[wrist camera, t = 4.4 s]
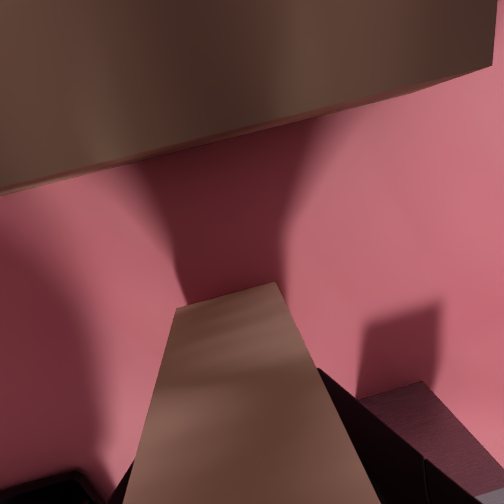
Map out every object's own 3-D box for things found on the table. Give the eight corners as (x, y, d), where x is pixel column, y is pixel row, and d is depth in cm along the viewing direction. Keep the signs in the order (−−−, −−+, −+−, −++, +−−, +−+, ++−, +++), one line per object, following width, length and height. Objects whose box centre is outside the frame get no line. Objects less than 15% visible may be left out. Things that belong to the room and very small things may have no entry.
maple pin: (206, 383, 12) (176, 979, 3) (176, 308, 10) (-19, 1018, 2) (293, 358, 12) (484, 865, 3) (275, 281, 10) (528, 816, 2)
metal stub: (360, 446, 16) (419, 565, 11) (354, 400, 15) (418, 514, 10) (422, 428, 16) (506, 538, 11) (422, 380, 15) (517, 483, 10)
